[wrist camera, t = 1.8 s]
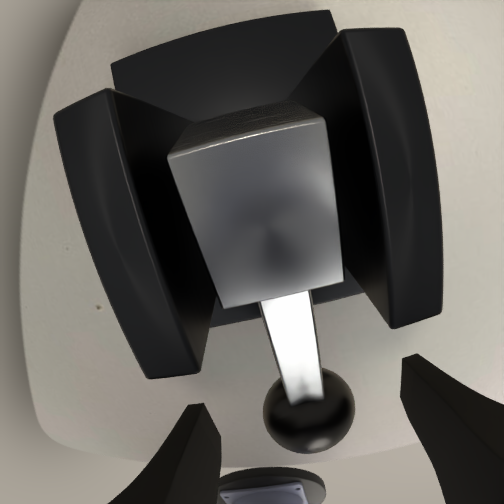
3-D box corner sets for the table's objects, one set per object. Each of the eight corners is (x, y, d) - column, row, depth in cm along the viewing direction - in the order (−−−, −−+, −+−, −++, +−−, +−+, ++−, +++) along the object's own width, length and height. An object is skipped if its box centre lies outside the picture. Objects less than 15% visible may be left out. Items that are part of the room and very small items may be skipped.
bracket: (377, 276, 14) (489, 414, 5) (192, 319, 15) (143, 490, 6) (323, 19, 11) (414, -116, 2) (120, 69, 11) (-34, 0, 2)
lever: (343, 385, 12) (362, 452, 9) (268, 402, 12) (276, 471, 10) (312, 92, 6) (375, 116, 3) (166, 128, 6) (120, 177, 4)
